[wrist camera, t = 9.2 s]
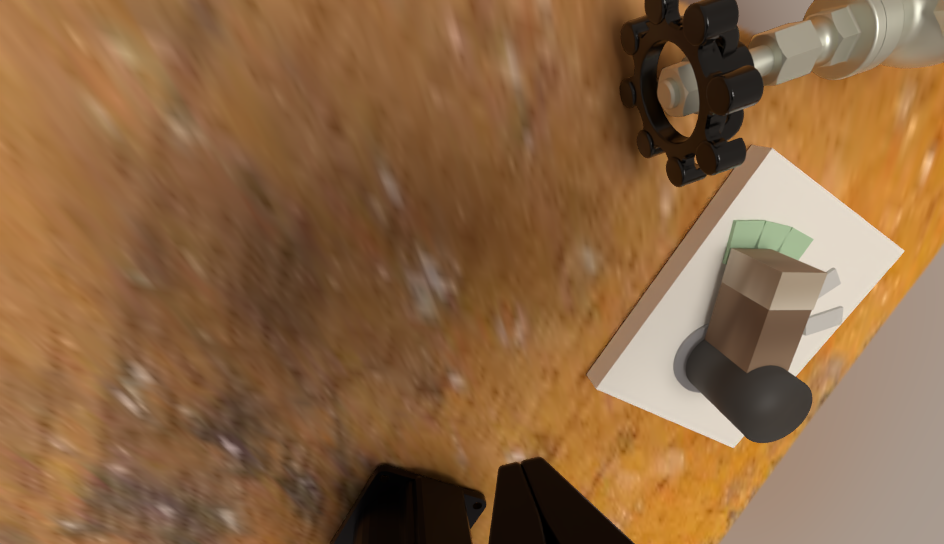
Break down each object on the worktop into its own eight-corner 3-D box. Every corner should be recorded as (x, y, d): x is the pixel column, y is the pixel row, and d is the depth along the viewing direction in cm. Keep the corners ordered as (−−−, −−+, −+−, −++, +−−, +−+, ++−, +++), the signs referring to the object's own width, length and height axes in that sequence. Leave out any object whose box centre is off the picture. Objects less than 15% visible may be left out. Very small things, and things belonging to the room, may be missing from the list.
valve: (896, -97, 17) (604, 4, 17) (1166, -196, 11) (721, -43, 11) (884, 82, 20) (631, 172, 20) (1098, 79, 14) (738, 209, 14)
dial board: (719, 433, 26) (736, 450, 25) (586, 374, 23) (597, 391, 22) (880, 243, 23) (909, 252, 22) (751, 144, 20) (775, 148, 19)
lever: (735, 387, 23) (796, 440, 20) (678, 389, 22) (731, 444, 19) (782, 249, 20) (863, 282, 17) (719, 248, 20) (789, 282, 16)
